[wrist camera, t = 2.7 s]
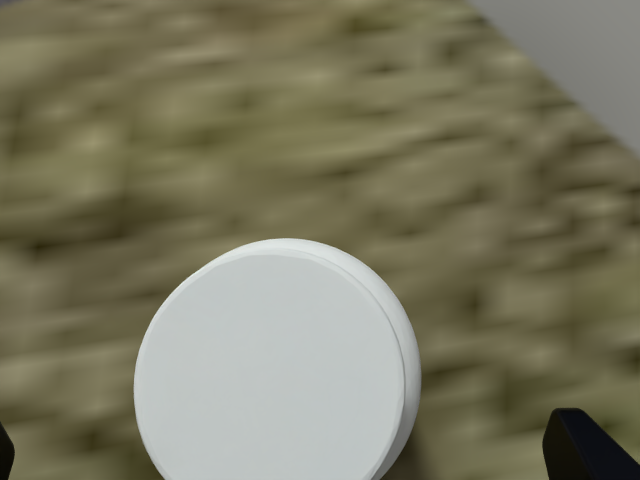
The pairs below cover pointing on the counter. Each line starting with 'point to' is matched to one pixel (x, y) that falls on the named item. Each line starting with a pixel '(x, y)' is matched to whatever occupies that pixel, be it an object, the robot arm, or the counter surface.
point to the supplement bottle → (278, 369)
